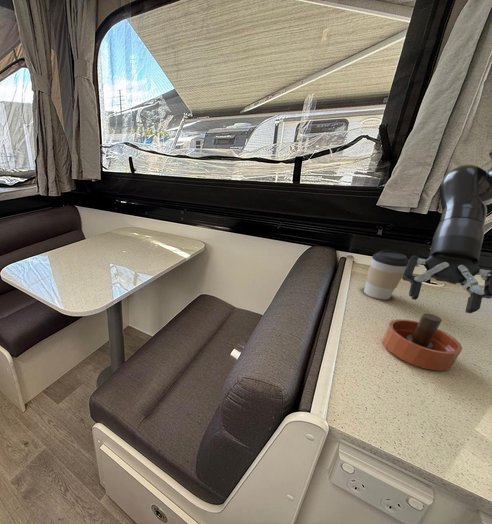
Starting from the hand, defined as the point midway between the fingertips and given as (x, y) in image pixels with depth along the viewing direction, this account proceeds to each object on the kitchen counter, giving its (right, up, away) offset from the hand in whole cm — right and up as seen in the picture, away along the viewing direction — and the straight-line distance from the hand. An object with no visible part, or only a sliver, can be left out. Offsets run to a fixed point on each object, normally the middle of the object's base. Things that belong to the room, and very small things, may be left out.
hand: (441, 305), depth 59 cm
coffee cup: (+14, -2, +32) cm, 35 cm away
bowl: (+1, -13, +7) cm, 15 cm away
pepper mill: (+1, -12, +7) cm, 14 cm away
